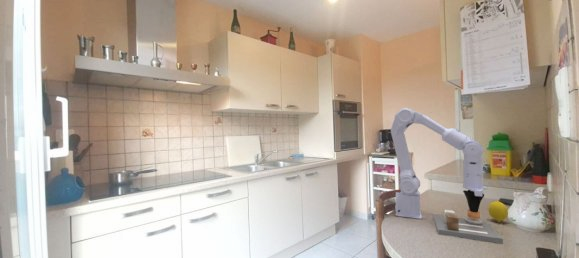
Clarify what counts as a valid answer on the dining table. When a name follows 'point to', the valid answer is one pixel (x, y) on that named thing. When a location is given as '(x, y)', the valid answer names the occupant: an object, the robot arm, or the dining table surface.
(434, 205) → the dining table surface
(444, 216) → the slider cream
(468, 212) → the button orange
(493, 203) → the lemon
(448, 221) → the slider walnut
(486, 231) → the panel
